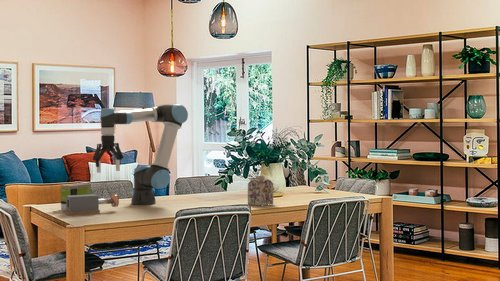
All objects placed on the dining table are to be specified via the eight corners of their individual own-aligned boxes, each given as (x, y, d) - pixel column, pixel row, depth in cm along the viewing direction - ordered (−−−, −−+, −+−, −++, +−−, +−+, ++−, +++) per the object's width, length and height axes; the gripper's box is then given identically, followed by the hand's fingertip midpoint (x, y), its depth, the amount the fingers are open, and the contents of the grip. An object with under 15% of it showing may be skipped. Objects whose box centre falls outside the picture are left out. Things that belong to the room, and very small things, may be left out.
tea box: (81, 207, 405) (81, 182, 404) (92, 208, 398) (91, 183, 398) (60, 209, 393) (60, 184, 392) (70, 211, 387) (70, 185, 386)
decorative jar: (273, 204, 418) (273, 175, 417) (261, 206, 409) (261, 177, 409) (259, 203, 426) (259, 174, 425) (246, 204, 417) (247, 175, 417)
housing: (93, 211, 386) (93, 193, 386) (99, 213, 376) (99, 195, 376) (63, 213, 378) (63, 195, 378) (69, 215, 368) (69, 197, 367)
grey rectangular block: (114, 206, 390) (114, 194, 390) (118, 207, 384) (118, 195, 384) (78, 208, 380) (78, 195, 379) (82, 209, 374) (82, 197, 373)
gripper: (120, 134, 400) (121, 169, 400) (85, 135, 381) (86, 173, 381) (129, 134, 395) (129, 170, 396) (93, 135, 376) (94, 173, 377)
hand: (108, 171), depth 389 cm, fingers open, 13 cm apart
